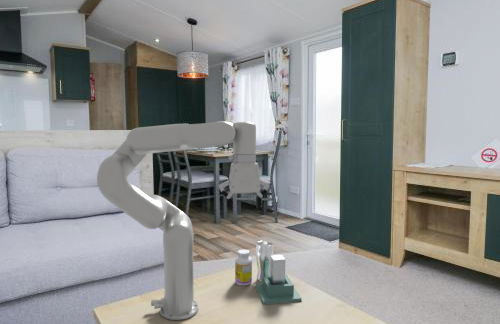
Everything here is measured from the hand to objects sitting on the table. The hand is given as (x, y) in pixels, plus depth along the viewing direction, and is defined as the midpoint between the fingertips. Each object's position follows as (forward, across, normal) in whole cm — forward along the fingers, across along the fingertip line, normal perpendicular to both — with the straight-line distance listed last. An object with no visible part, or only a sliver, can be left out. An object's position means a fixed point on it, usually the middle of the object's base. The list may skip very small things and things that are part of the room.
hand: (244, 209), depth 122 cm
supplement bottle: (+34, +3, +17) cm, 39 cm away
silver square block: (+33, +14, +6) cm, 37 cm away
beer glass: (+34, +12, +19) cm, 41 cm away
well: (+34, +14, +6) cm, 38 cm away
